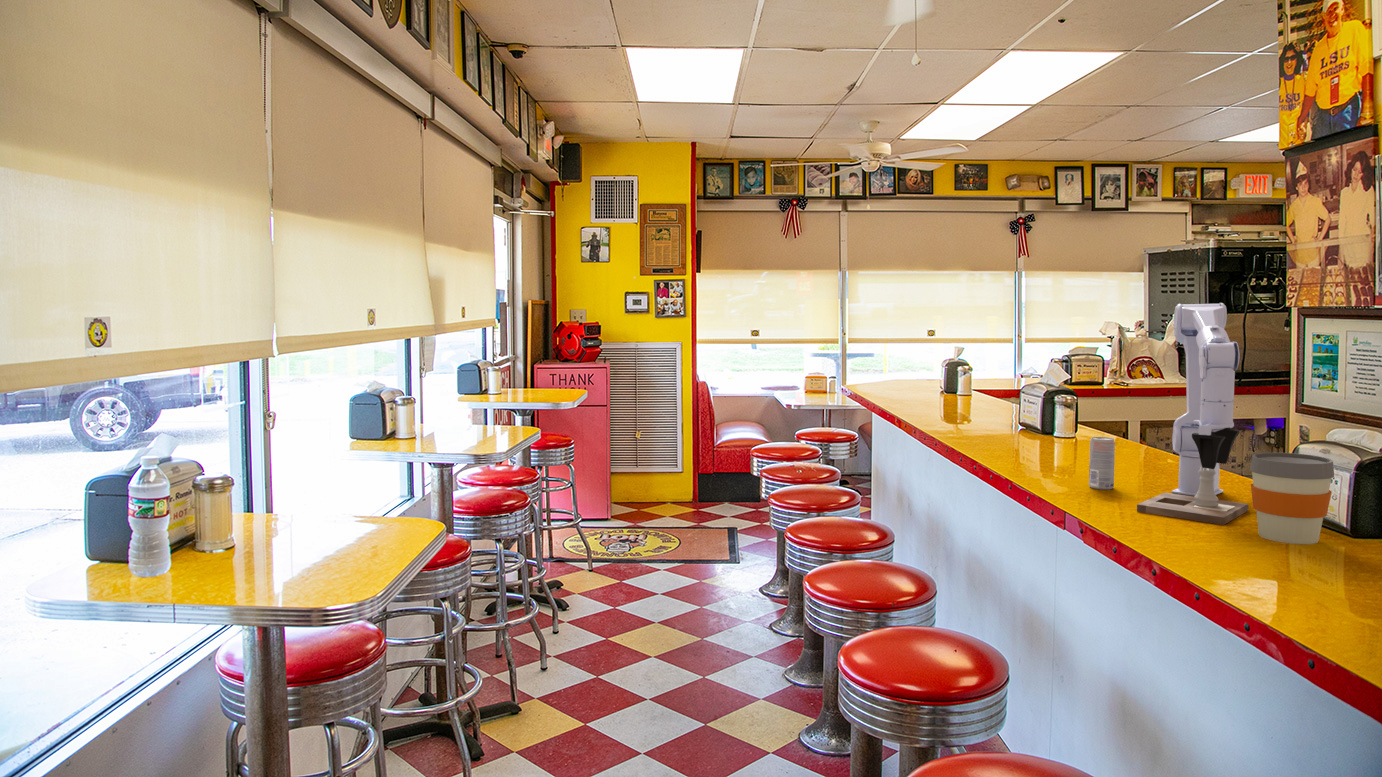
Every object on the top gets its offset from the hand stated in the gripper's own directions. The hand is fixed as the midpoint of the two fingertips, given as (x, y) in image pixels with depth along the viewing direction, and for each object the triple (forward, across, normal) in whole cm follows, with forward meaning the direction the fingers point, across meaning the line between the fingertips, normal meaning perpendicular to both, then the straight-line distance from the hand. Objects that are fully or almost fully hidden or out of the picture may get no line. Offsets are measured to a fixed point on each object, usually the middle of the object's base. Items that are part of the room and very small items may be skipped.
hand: (1214, 465), depth 168 cm
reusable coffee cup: (+10, +11, +15) cm, 21 cm away
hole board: (+10, +1, -4) cm, 11 cm away
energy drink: (+10, -10, -27) cm, 30 cm away
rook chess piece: (+9, +1, -1) cm, 9 cm away
